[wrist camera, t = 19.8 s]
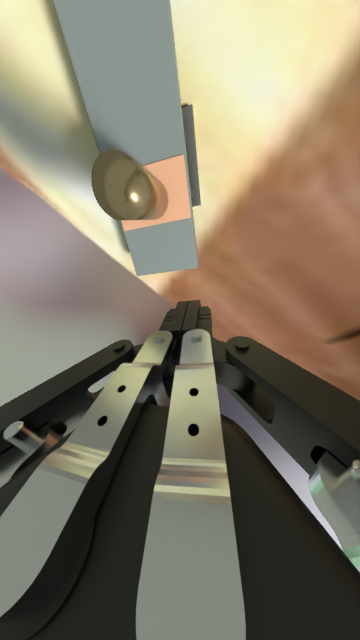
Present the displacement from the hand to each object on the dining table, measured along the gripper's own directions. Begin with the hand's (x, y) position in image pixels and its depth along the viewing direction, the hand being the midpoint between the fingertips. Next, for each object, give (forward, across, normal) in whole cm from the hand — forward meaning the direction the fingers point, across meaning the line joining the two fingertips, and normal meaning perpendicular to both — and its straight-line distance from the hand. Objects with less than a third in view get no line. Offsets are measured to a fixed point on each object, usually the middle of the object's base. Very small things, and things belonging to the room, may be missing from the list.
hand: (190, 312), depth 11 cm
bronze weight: (+15, +6, -9) cm, 18 cm away
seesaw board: (+16, +6, -12) cm, 21 cm away
